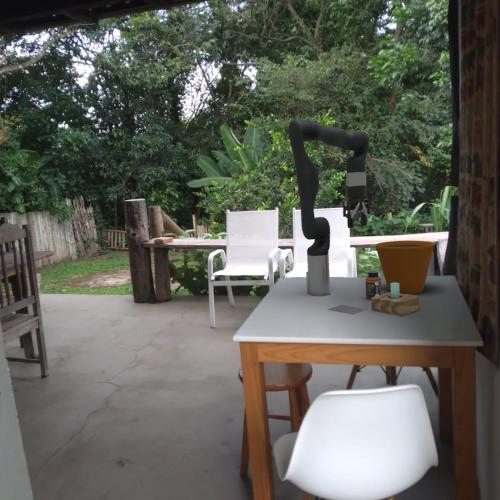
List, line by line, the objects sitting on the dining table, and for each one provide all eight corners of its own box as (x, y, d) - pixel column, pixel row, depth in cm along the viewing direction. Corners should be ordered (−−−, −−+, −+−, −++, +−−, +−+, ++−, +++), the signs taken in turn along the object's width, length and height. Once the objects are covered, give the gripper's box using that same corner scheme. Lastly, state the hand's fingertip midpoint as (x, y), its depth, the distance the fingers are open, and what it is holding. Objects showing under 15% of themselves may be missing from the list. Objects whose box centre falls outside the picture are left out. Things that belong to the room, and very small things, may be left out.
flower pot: (446, 289, 206) (446, 242, 203) (410, 298, 193) (409, 248, 190) (400, 282, 225) (399, 239, 223) (365, 290, 212) (363, 245, 210)
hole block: (371, 311, 177) (371, 298, 177) (390, 304, 185) (389, 291, 185) (401, 316, 168) (400, 302, 168) (419, 309, 176) (418, 295, 176)
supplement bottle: (381, 301, 192) (381, 272, 190) (366, 301, 193) (365, 273, 192) (380, 297, 198) (380, 270, 196) (365, 297, 199) (365, 270, 197)
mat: (326, 310, 182) (326, 309, 182) (341, 305, 188) (341, 304, 188) (353, 315, 173) (353, 314, 173) (367, 310, 179) (367, 309, 179)
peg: (389, 310, 177) (388, 283, 176) (394, 308, 179) (393, 282, 178) (396, 311, 175) (396, 284, 173) (401, 310, 177) (400, 283, 175)
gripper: (359, 184, 192) (360, 225, 194) (336, 185, 183) (338, 228, 185) (375, 183, 187) (376, 225, 189) (352, 185, 177) (354, 229, 180)
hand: (357, 227), depth 187 cm, fingers open, 8 cm apart
